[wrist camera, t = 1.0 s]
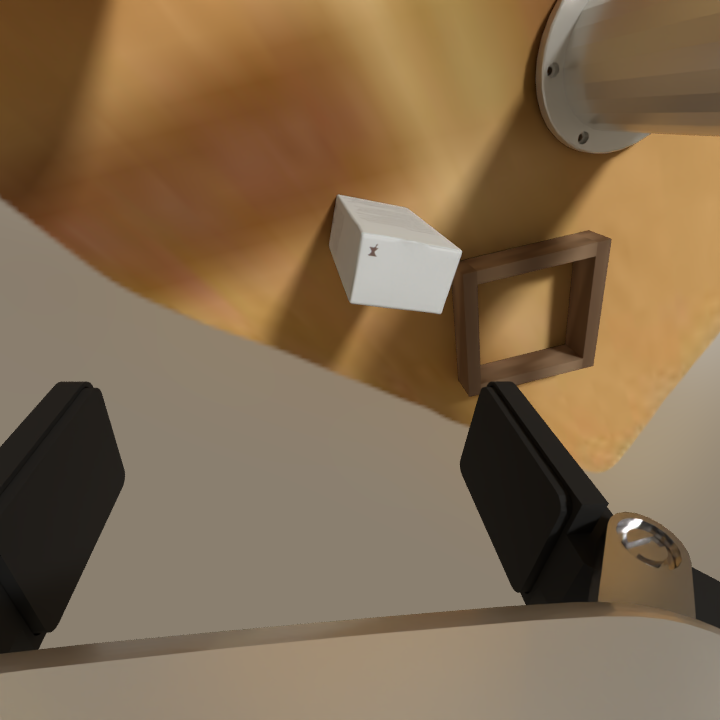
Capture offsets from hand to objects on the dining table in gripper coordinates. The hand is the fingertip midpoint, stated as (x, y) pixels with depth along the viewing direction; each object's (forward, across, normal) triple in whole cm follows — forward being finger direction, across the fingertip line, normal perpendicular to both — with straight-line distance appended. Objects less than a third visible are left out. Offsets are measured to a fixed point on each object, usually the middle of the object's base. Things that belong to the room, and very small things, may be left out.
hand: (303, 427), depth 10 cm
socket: (+26, -21, +8) cm, 34 cm away
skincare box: (+26, -6, +1) cm, 26 cm away
